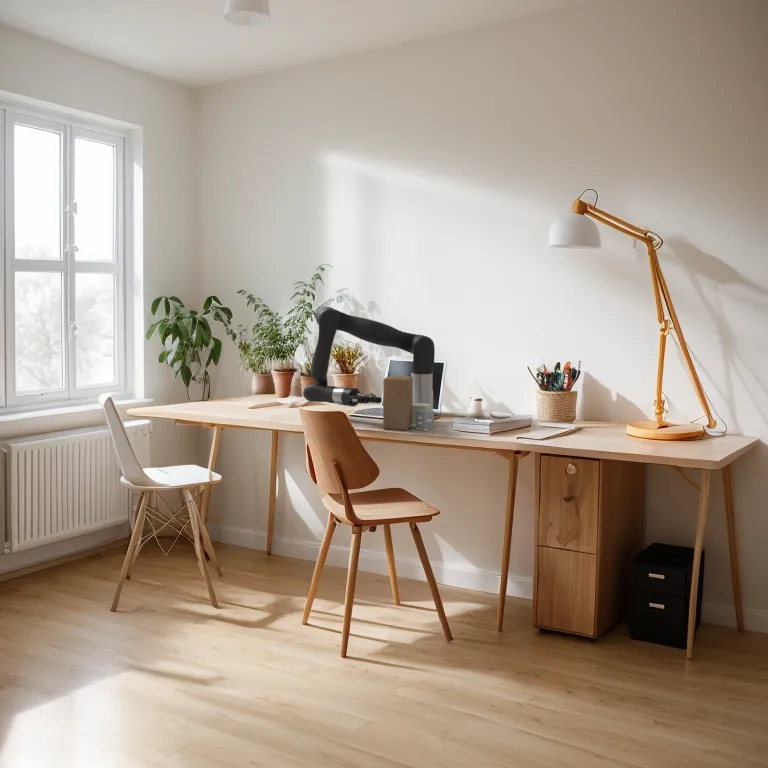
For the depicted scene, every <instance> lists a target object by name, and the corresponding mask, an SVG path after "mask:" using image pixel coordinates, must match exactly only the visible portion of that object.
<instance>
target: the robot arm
mask: <svg viewBox="0 0 768 768" xmlns="http://www.w3.org/2000/svg"><path fill="white" fill-rule="evenodd" d="M315 321H316V324H317V325H318V338H317V344H316V347H315V350H314V351H313V352H314V353H313V356H312V361H311V367H310V372H309V373H310V374H309V375H310V377H311V379H314V384H307V385H306V386H305V387H304V388H303V391H302V395H303V397H304V398H305V400H307V401H308V402H313V403H327V404H329V403H330V404H336V405H340V406H344V407H345V406H346V407H347V406H348V407H357V406H358V404H365V405H366V404H371V403H372V404H373V403H374V404H381V403H383V397H381V396H377V395H376V394H374V393H372V392H371V393H366V392H360V390H359V389H358V388H356V387H349V386H334V385H329V384H328V371H329V366H330V365H329V364H330V361H331V359H330V358H331V353H332V349H333V348H332V347H333V343H334V339H335V336H336V333H337V331H341V332H344V333H347V334H349V335H351V336H353V337H355V338H358V339H359V340H362V341H365V342H368V343H370V344H373V345H374V344H375V345H379V346H382V347H389V348H395V349H399V350H403V351H405V352H408V353H410V354H411V355H413V356H412V357H413V358H412V365H411V366H410V376H411V377H412V378H413V405H414V404H416V403H426V404H432V411H434V390H433V374H434V373H433V371H434V367H435V355H436V354H435V353H436V352H435V351H436V350H435V347H436V346H435V342H434V340H433V339H432V338H431V337H429V336H426V335H422V334H416V333H410V332H406V331H401V330H399V329H397V328H396V327H393V326H390V325H389V324H385V323H383V322H379V321H376V320H373V319H368V318H364V317H360V316H355V315H351V314H348V313H345V312H342V311H340V310H337V309H335V308H333V307H331V306H324V307H321V308H319V309H318V310H317V311H316V313H315Z"/></svg>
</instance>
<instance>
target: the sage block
mask: <svg viewBox="0 0 768 768" xmlns="http://www.w3.org/2000/svg"><path fill="white" fill-rule="evenodd" d="M425 409H426V410H431V411H432V404H426V403H416V404H414V405H413V412H412V426H416V411H418V410H425Z"/></svg>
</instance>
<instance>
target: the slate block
mask: <svg viewBox="0 0 768 768" xmlns="http://www.w3.org/2000/svg"><path fill="white" fill-rule="evenodd" d="M416 428H418V429H417V430H420V429H423V430H422V431H426V430H425V429H430V430H434V429H435V411H434V410H433V411H431V410H426V409H425V410H418V411H416V425H415V429H416Z"/></svg>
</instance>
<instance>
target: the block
mask: <svg viewBox="0 0 768 768" xmlns="http://www.w3.org/2000/svg"><path fill="white" fill-rule="evenodd" d="M382 394H383V395H382V403H383V404H382V407H383V408H382V428H383V429H384V430H388V429H395V430H394V431H408V430H409V429H410V428H411V427H412V426H413V425H412V412H413V378H412V377H411V375H394V374H393V375H388V376H387V377H384V378H383V381H382Z"/></svg>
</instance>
